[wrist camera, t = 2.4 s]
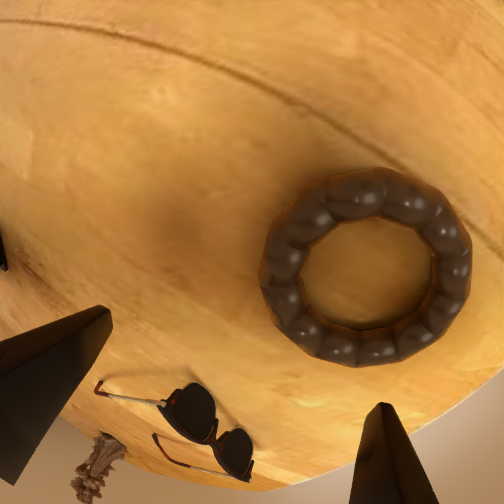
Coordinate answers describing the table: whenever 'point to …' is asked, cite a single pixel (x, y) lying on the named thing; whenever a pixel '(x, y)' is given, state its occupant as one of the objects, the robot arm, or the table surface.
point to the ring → (356, 210)
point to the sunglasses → (202, 428)
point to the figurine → (97, 468)
